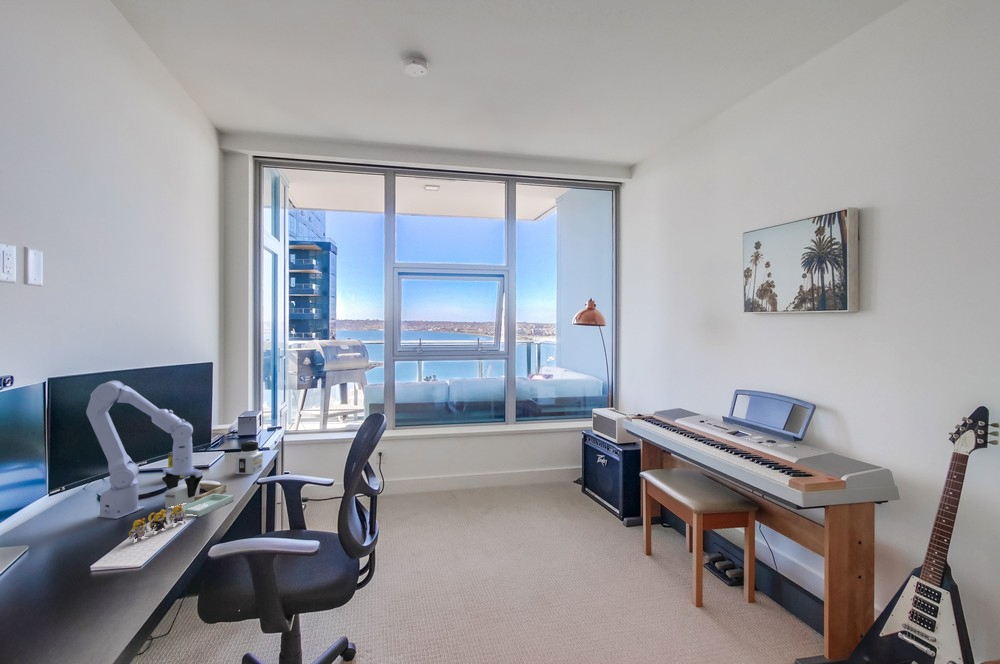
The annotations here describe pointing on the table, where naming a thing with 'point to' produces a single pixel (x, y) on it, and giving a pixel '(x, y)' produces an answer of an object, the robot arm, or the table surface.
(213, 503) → the tray
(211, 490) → the oak bay
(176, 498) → the white rectangular brick
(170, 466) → the supplement box
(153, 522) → the figurine set
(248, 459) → the container
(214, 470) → the table surface
